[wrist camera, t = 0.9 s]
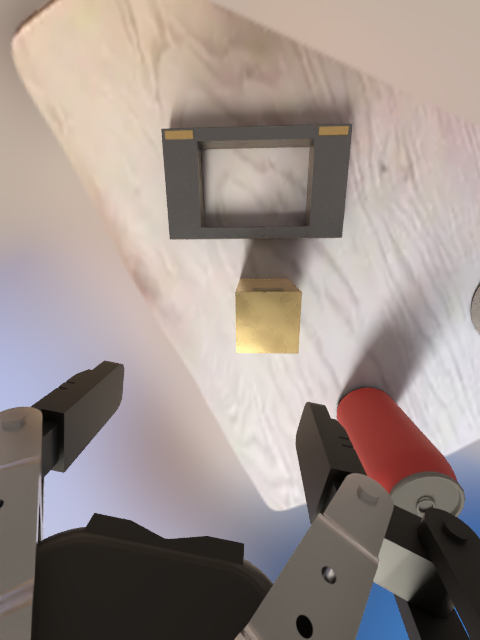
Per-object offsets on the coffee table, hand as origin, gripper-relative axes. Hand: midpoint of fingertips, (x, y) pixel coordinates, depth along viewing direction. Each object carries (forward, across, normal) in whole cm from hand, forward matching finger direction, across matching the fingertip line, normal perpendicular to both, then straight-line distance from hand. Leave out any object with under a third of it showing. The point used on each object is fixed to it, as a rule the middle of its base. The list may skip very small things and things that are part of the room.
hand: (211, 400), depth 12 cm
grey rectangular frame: (+18, +1, -12) cm, 21 cm away
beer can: (+18, -17, +9) cm, 27 cm away
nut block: (+18, -2, -1) cm, 18 cm away
